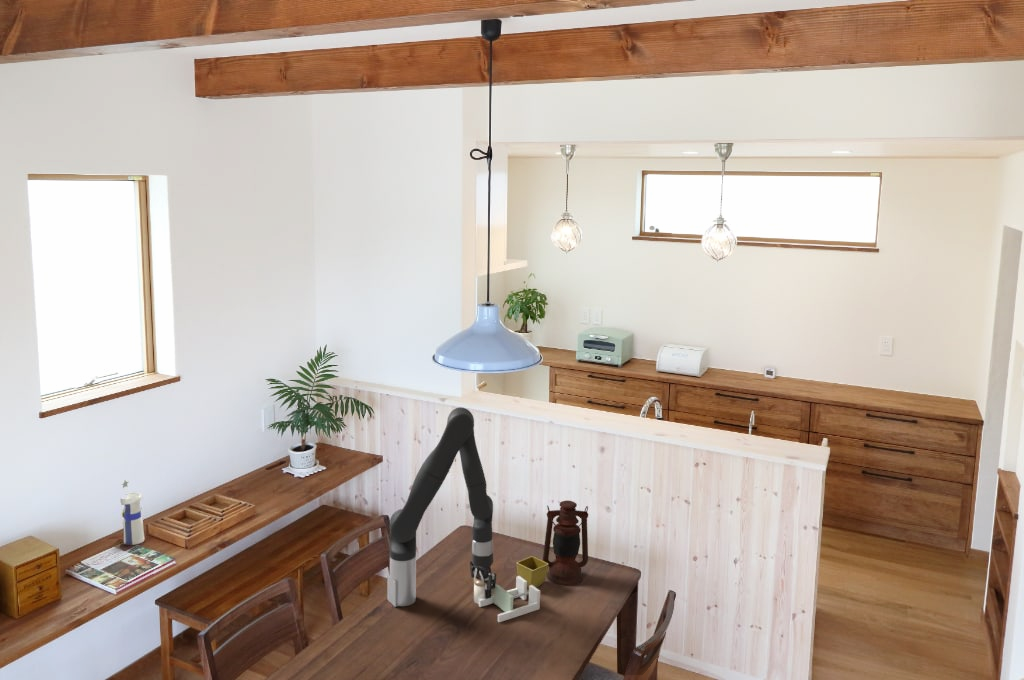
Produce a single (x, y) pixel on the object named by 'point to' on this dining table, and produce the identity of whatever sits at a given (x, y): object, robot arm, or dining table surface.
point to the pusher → (505, 598)
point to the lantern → (566, 544)
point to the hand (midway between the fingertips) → (483, 594)
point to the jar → (479, 589)
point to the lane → (520, 588)
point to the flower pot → (532, 571)
